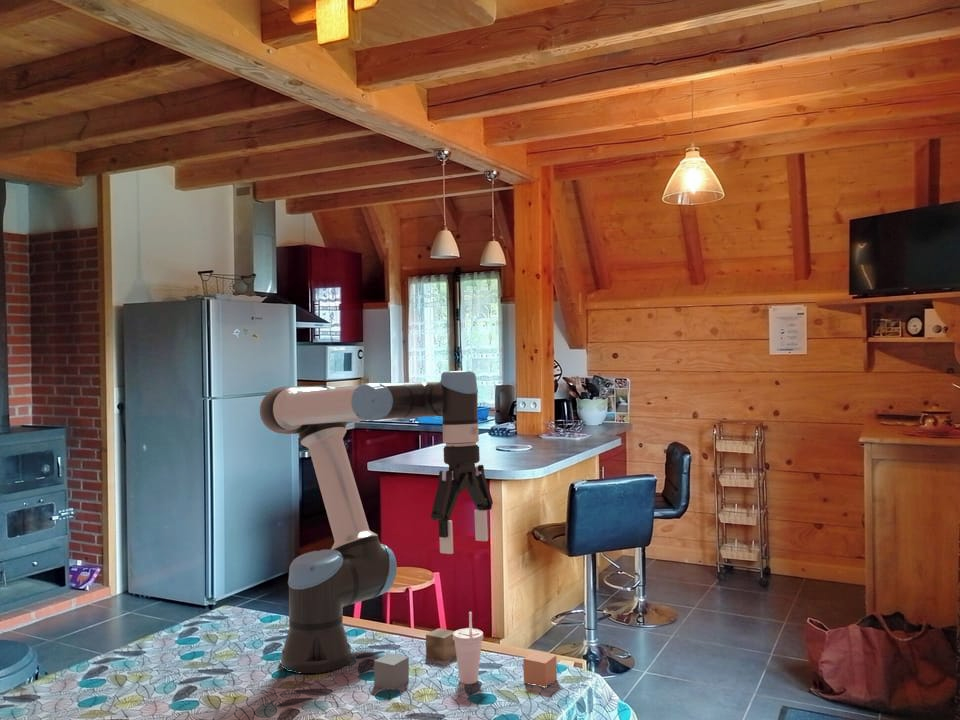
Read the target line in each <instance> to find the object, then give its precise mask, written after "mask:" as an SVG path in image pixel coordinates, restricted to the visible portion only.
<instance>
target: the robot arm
mask: <svg viewBox="0 0 960 720" xmlns="http://www.w3.org/2000/svg"><path fill="white" fill-rule="evenodd" d="M478 393H479V390H478V384H477V375H476V373H475V372H474V371H471V370H453V371H449V370H448V371H444V372H442V373H441V375H440V381H426V382H425V381H424V382H423V381H422V382H421V381H417V382H367V383H362V384H359V385H351V386H350V385H349V386H343V387H335V386H329V385H321V384H320V385H309V386H306V385H304V386H302V385H301V386H291V385H290V386H281V387H277V388H274V389H272V390H269V392H268V393H266V394H265V395H264V397H263V398H262V400H261V402H260V405H259V415H260V420H261V421H262V423H263V424H264V426H265V427H266V428H267V429H268V430H270V431H272V432H274V433H275V434H276V433H277V434H280V435H281V434H282V435H294V434H295V435H298V437H299V442H300V444H301V445H302V446H303V447H306V448H307V449H308V450H309V454H310V457H311V462H312V465H313V468H314V470H315V471H314V472H315V476H316V479H317V482H318V483H317V484H318V485H319V487H318V488H319V490H320V493H321V496H322V501H323V504H324V508H325V510H326V515H327V518H328V523H329V526H330V529H331V533H332V536H333V540H334V543H333V545H332V546H331V548H330V549H327V548H326V549H320V550H312V551H309V552H305V553H303V554H301V555H298V556H297V557H296V558H294V559H293V560H292V561H291V563H290V565H289V571H288V580H287V584H288V624H289V625H288V632H287V634H286V638H285V640H284V641H285V642H284V646H283V649H282V651H281V654H280V655H281V656H280V658H281V659H280V664H282V666H283V667H284V668H286V669H288V670H292V671H296V672H301V673H316V674H323V673H326V672H327V671H328V672H331V670H332V671H336V670H339V669H341V668H343V667H345V666H346V665H348V664H347V663H348V662H349V663H350V662H351V660H350V659H352V649H351V645H350V643H349V642H348V638H347V633H346V630H345V626H344V623H343V608H344V607H347V606H350V605H353V604H357V603H359V602H363V601H366V600H367V601H368V600H371V599H372V600H373V599H375V598H377V597H379V596H381V595H384V594H386V593H387V592H389V591H390V589H392V587H393V585H394V584H395V579H396V577H397V571H398V570H397V569H398V567H397V560H396V556H395V554H394V551H393V550H392V549H391V548H390V547H389V546H388V545H386V544H382V543H381V542H380V539H379V536H378V535H379V534H377V533H375V532H373V531H371V530H370V527H369V524H368V521H367V518H366V513H365V510H364V508H363V507H364V506H363V504H362V500H361V497H360V496H361V495H360V494H359V490H358V486H357V483H356V480H355V476H354V473H353V470H352V466H351V462H350V459H349V456H348V452H347V449H346V446H345V442H344V438H345V435H346V433H347V431H348V430H347V426H348V424H349V422H360V421H361V422H362V421H368V422H369V421H371V422H372V421H373V422H374V421H380V420H381V421H382V420H393V419H409V418H410V419H411V418H423V417H424V418H425V417H427V418H428V417H442V419H441V420H442V442H443V444H445V446H444V447H443V462H444V463H445V465H448V470H439V472H438V485H437V489H436V493H435V498H434V501H433V506H432V509H431V513H430V517H431V519H433V520H434V521H437V522H438V536H439V553H440V554H447V555H452V554H454V533H453V532H454V531H453V529H454V528H453V520H450V519H451V516H452V514H453V511H454V508H455V505H456V503H457V500H458V497H459V495H460V494H461V493H462V492H463V491H464V490H466V491H467V493H468V494H469V497H470V498H471V500H472V502H473V504H474V505H475V507H476V509H474V513H473V514H474V532H475V533H474V535H475V536H474V537H475V541H477V542H478V541H479V542H488V541H489V533H488V532H489V531H488V510H489V511H491V510H492V508H493V504H494V502H493V497H492V495H491V491H490V487H489V485H488V482H487V479H486V476H485V467H484V464H478V463H479V462H480V459H481V458H480V457H481V456H480V446H479V445H478V444H477V443H478V442H479V441H480V438H479V433H480V429H479V420H478V418H479V415H478V411H479V410H478V408H479V407H478V403H479V402H478ZM344 665H345V666H344ZM282 666H281V667H282ZM342 666H343V667H342ZM283 667H282V668H283ZM340 667H341V668H340ZM284 668H283V669H284ZM335 669H336V670H335ZM322 672H323V673H322ZM328 672H327V673H328Z"/></svg>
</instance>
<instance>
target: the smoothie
mask: <svg viewBox="0 0 960 720" xmlns="http://www.w3.org/2000/svg"><path fill="white" fill-rule="evenodd" d="M472 620H473V612H472V611H469V612H468V627H466V628H460V629H457V630H454V631H455V632H454V633H453V640H454V641H455V648H456V655H455V656H456V662H457V669H458V670H457V671H458V677H459V683H461V684H465V685H472V684H475V683H477V682H479V681H478V680H479V673H480V672H479V671H480V660H481V652H482V651H481V650H482V641H483V639H484V632H483V631H482V630H480V629H478V628H473V621H472Z"/></svg>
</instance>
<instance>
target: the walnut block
mask: <svg viewBox="0 0 960 720" xmlns="http://www.w3.org/2000/svg"><path fill="white" fill-rule="evenodd" d="M455 631H456V630H449V629H444V628H440V627H439V628H435V630H432V631H430V632H428V633H425V657H426V658H431V659H435V660H439V661H447V660H449V659H450V658H452V657H454V656H456V648H455V641H454V640H453V633H454V632H455Z"/></svg>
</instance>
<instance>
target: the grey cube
mask: <svg viewBox="0 0 960 720" xmlns="http://www.w3.org/2000/svg"><path fill="white" fill-rule="evenodd" d="M373 661H374V662H373V666H374V667H373V668H374V669H373V671H374V673H373V675H374V676H373V679H374V681H373V682H374V683H373V685H374V686H377V687H381V688H384V689H388V690H392V691H395V690H396V689H398V688H400V687H401V686H403V685H405V684H407V683H409V682H410V674H409V673H410V671H409V670H410V668H409V665H410V664H409V663H410V662H409V661H410V660H409V656H404V655H400V654H396V653H391V652H389V653H387V654H385V655H382V656H381V657H379V658H377V659H375V660H373Z"/></svg>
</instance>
